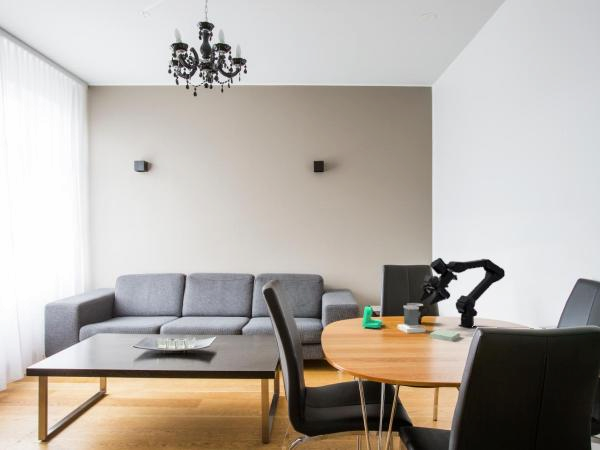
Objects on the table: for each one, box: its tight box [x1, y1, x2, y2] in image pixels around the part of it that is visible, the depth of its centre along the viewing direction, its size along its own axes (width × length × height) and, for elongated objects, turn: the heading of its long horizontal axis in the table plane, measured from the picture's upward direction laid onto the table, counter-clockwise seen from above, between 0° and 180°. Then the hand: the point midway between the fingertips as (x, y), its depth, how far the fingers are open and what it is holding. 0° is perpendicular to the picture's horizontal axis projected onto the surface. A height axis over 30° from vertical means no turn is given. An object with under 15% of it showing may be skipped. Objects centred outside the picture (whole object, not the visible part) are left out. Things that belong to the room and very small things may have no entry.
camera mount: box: [362, 306, 383, 329], centre depth 205 cm, size 12×8×10 cm, turn 156°
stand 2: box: [429, 329, 461, 342], centre depth 183 cm, size 10×10×2 cm
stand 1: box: [396, 323, 427, 334], centre depth 197 cm, size 10×10×2 cm
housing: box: [403, 304, 420, 328], centre depth 197 cm, size 6×6×10 cm
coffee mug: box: [406, 302, 430, 325], centre depth 213 cm, size 12×9×10 cm
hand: (424, 302), depth 199 cm, fingers open, 9 cm apart
